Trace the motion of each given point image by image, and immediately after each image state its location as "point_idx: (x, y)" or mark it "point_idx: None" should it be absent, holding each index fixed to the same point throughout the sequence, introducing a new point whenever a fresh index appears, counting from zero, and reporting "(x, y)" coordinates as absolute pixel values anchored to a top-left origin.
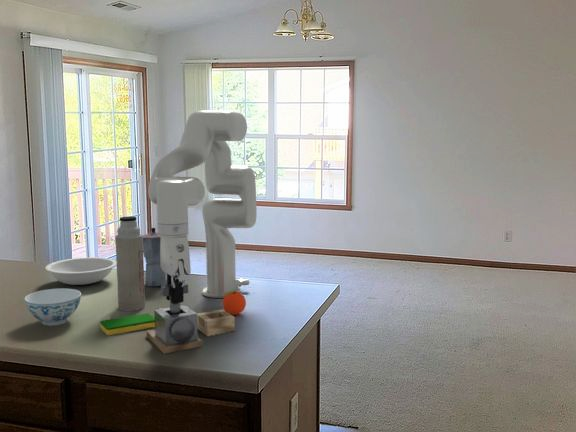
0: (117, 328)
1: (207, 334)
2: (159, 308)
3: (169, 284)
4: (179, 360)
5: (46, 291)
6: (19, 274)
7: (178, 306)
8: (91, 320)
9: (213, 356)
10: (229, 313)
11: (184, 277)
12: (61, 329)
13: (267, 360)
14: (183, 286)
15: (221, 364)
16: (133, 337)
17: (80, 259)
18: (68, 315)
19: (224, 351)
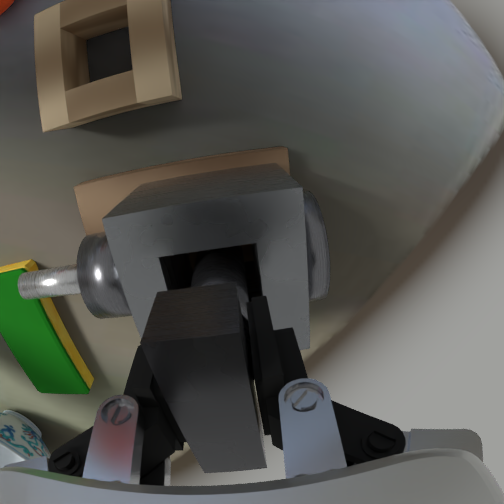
0: (77, 370)
1: (181, 98)
2: (24, 293)
3: (172, 439)
4: (367, 247)
5: None
6: None
7: (245, 302)
8: (5, 381)
9: (388, 141)
10: (10, 5)
11: (479, 456)
12: (58, 428)
13: (462, 28)
14: (321, 383)
15: (445, 145)
16: (119, 335)
17: None
18: (26, 429)
19: (363, 91)
